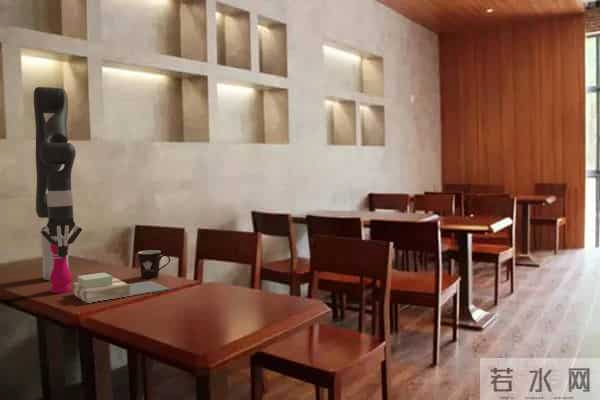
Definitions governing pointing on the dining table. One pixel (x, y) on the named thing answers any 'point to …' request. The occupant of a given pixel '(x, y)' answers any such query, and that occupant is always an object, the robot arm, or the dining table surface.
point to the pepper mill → (60, 273)
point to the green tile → (94, 280)
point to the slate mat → (145, 288)
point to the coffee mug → (150, 263)
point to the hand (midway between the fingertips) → (62, 257)
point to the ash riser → (102, 291)
